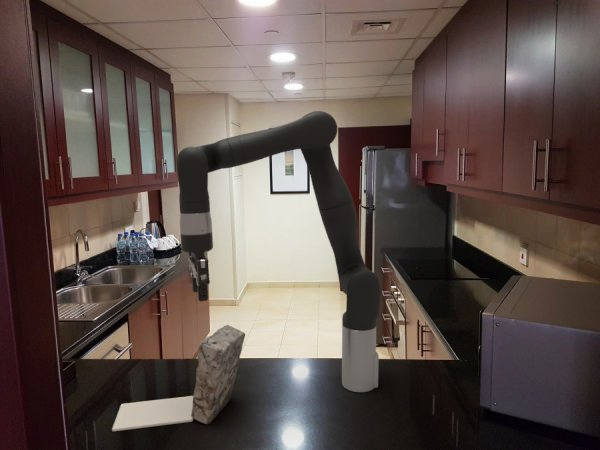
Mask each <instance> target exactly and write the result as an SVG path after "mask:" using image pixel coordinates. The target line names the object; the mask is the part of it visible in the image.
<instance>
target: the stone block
mask: <svg viewBox="0 0 600 450" xmlns="http://www.w3.org/2000/svg"><path fill="white" fill-rule="evenodd" d="M245 337H246V333H245V332H244V331H241V330H240V329H238V328H235V327H234V326H231V325H229V324H226V325H223V326H222V327H220V328H219V329H217V331H215V332H214V333H212V334H211V335H210V336H207V337H205V338H204V339H203V340H201V342H200V343H199V346H198V352H197V358H196V362H197V363H196V364H197V365H196V369H195V370H196V371H195V372H196V374H195V385H194V390H193V395H192V396H193V407H192V413H191V417H192V418H193V420H195V421H198V422H200V423H202V424H204V425H210V424H211V423H212V422H213V420H214V419H215V418H217V416H218V415H219V414H220V413H221V411H222V410H223V409H224V408H225V406H227V404H228V403H229V401H231V397H232V393H233V390H234V386H235V385H234V384H235V381H236V377H237V373H238V368H239V362H240V358H241V353H242V349H243V345H244V341H245V339H246V338H245Z"/></svg>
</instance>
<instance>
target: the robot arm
mask: <svg viewBox="0 0 600 450" xmlns="http://www.w3.org/2000/svg"><path fill="white" fill-rule="evenodd" d="M337 135H338V124H337V122H336V120H335V118H334V117H333V116H332V114H330V113H327V112H325V111H322V110H314V111H311V112H309V113H307V114H305V115H303V116H302V117H301V118H298V119H296V120H294V121H292V122H288V123H286V124H283V125H280V126H279V125H278V126H276V127H271V128H267V129H263V130H261V129H260V130H258V131H253V132H247V133H242V134H238V135H235V136H230V137H226V138H222V139H220V140H217V141H215V142H212V143H208V144H203V145H198V146H186V147H184V148H183V149H181V150H180V151H179V152H178V154H177V157H176V172H177V173H176V174H177V181H178V187H179V193H178V194H179V195H178V197H179V199H178V201H179V213H180V214H179V232H180V233H179V234H180V248H181V251H182V252H183V253H187V254H188V264H189V265H188V266H189V268H188V269H189V270H188V272H189V273H190V277H191V284H192V286H191V287H192V291H193V293H197V299H198V302H206V301H208V300H209V293H208V291H209V290H208V289H209V288H208V285H210V283H211V282H210V281H211V280H210V272H209V259H208V258H207V257H206V255H205V252H209V251H212V250H213V248H214V243H213V242H214V241H213V240H214V239H213V223H212V217H211V207H210V205H211V203H210V195H209V189H208V187H209V173H213V172H215V171H219V170H221V169H231V168H236V167H239V166H242V165H247V164H251V163H253V162H257V161H260V160H263V159H265V158H269V157H272V156H275V155H278V154H282V153H286V152H290V151H295V150H296V151H297V150H300V152H301V154H302V155H303V158H304V162H305V163H306V166H307V169H308V172H309V176H310V180H311V185H312V187H313V188H312V189H313V192H314V196H315V200H316V203H317V209H318V211H319V215H320V217H321V220H322V224H323V227H324V230H325V233H326V235H327V236H326V237H327V239H328V242H329V244H330V247H331V249H332V252H333V255H334V260H335V265H336V271H337V277H338V283H339V286H340V289H341V290H342V292H343V293H344V294H345V295H346V303H345V304H346V306H345V308H346V309H345V312H344V313H342V317H341V319H342V320H341V322H342V323H341V324H342V325H341V326H342V327H341V328H342V329H341V331H342V333H341V342H342V343H341V384H342V387H344V389H346V390H348V391H351V392H355V393H366V392H370V391H373V390H374V389H375V388H376V389H377V388H378V387H379V358H380V357H379V356H380V355H379V353H378V352H377V322H378V321H377V320H378V319H379V316H380V307H381V282H380V279H379V277H378V276H377V275H376V273H375V272H373V271H372V270H370V269H369V268H368V267H367V266H366V263H365V261H364V258H363V255H362V253H361V250H360V246H359V238H358V237H359V225H358V224H359V223H358V215H357V210H356V207H355V203H354V199H353V197H352V194H351V191H350V189H349V187H348V184H347V183H346V181H345V180H344V178H343V176H342V174H341V173H340V171H339V169H338V167H337V165H336V163H335V160H334V156H333V152H332V148H331V147H332V146H331V144H332V143H333V142H334V141H335V140H336V137H337ZM202 278H204V279H202Z"/></svg>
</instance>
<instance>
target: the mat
mask: <svg viewBox="0 0 600 450" xmlns="http://www.w3.org/2000/svg"><path fill="white" fill-rule="evenodd" d="M193 396H194V395H188V396H187V395H186V396H181V397H179V396H178V397H172V398H170V397H169V398H161V399H153V400H144V401H136V402H129V403H128V402H126V403H121V405H119V410H118V412H117V415H116V418H115V420H114V423H113V425H112V428H111V431H112V432H117V431H119V432H120V431H126V430H127V431H128V430H136V429H142V428H150V427H158V426H165V425H166V426H167V425H174V424H175V425H176V424H183V423H191V422H193V421H194V418H192V417H191V413H192V407H193Z"/></svg>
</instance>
